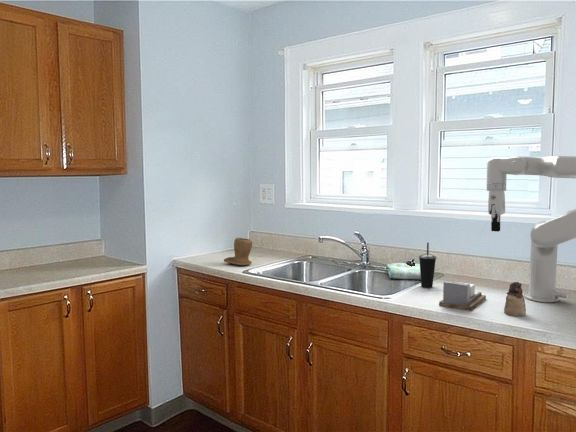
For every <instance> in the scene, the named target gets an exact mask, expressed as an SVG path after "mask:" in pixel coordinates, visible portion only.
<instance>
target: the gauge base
mask: <svg viewBox="0 0 576 432" xmlns="http://www.w3.org/2000/svg"><path fill="white" fill-rule="evenodd" d="M486 298H487V295H484V294H482V292H481V291H478V292H476V293H475V294H474V296H473V297H471V298H470V299H469V305H468V306H461V305H455V304H449V303H443V299H442V300H440V301H439V302H438V305H439V306H440V307H444V308H451V309H456V310H461V311H463V310H464V311H469V312H472V311H473V310H474V309H475V308H477V307H478V306H479V305H480V304H482V303H483V302H484V301H486ZM439 306H438V307H439Z"/></svg>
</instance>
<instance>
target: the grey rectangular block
mask: <svg viewBox="0 0 576 432" xmlns="http://www.w3.org/2000/svg"><path fill="white" fill-rule="evenodd" d="M459 282H460V281H459ZM459 282H457V281H451V280H450V281H449V280H445V281H443V288H442V291H443V293H442V294H443V295H442V300H443V303H449V304H455V305H461V306H468V305H469V297H470V284H471V283H469V284H466V282H461V283H459Z"/></svg>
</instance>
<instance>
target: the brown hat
mask: <svg viewBox="0 0 576 432" xmlns="http://www.w3.org/2000/svg"><path fill="white" fill-rule="evenodd" d="M233 242H234V243H233V249H234V256H230V257H226V258H224V259H223V262H224V263H227V264H231V265H237V266H249V265H252V263H253V262H252V261H251V260H250V259H249V256H250V253H251V251H252V248H253V241H252V239H249V238H245V237H244V238H243V237H236V238H234V241H233Z"/></svg>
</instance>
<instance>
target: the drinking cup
mask: <svg viewBox="0 0 576 432" xmlns="http://www.w3.org/2000/svg"><path fill="white" fill-rule="evenodd" d="M429 244H430V243H429V242H426V253H423V254H421V255H419V256H418V258H419V264H420V274H421V280H420V286H421V288H424V289H430V288H433V287H434V277H435V269H436V261H437V256H435V255H433V254H432V253H429V250H430V246H429Z"/></svg>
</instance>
